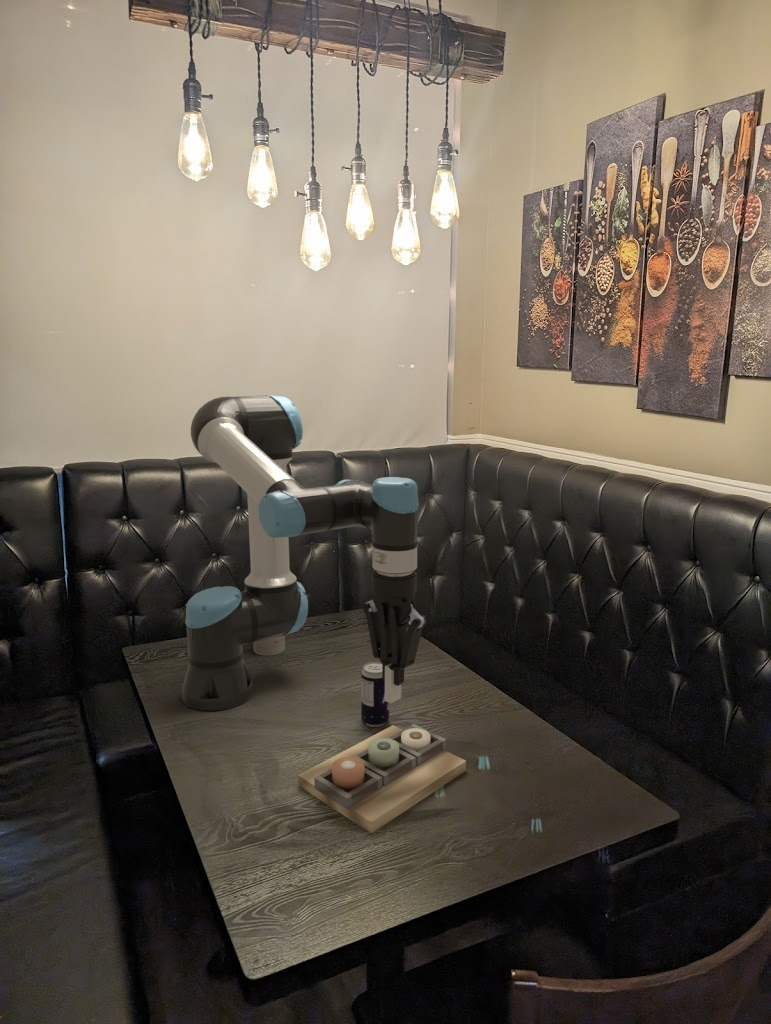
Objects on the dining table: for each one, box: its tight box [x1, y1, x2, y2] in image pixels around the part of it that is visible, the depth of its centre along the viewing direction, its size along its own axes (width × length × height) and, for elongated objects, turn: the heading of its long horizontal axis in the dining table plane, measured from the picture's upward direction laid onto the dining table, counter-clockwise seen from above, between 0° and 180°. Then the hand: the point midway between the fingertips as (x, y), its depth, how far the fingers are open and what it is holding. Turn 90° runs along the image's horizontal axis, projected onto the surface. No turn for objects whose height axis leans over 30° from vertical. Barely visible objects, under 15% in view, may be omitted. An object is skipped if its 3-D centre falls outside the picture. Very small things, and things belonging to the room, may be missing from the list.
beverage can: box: [360, 661, 390, 728], centre depth 142 cm, size 6×6×12 cm
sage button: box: [368, 738, 399, 767], centre depth 123 cm, size 5×5×3 cm
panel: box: [297, 723, 467, 834], centre depth 123 cm, size 18×25×4 cm
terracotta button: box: [332, 757, 365, 788], centre depth 117 cm, size 5×5×3 cm
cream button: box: [401, 728, 431, 752], centre depth 129 cm, size 5×5×3 cm
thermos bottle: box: [252, 635, 286, 657], centre depth 176 cm, size 8×8×28 cm
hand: (392, 699), depth 123 cm, fingers closed
